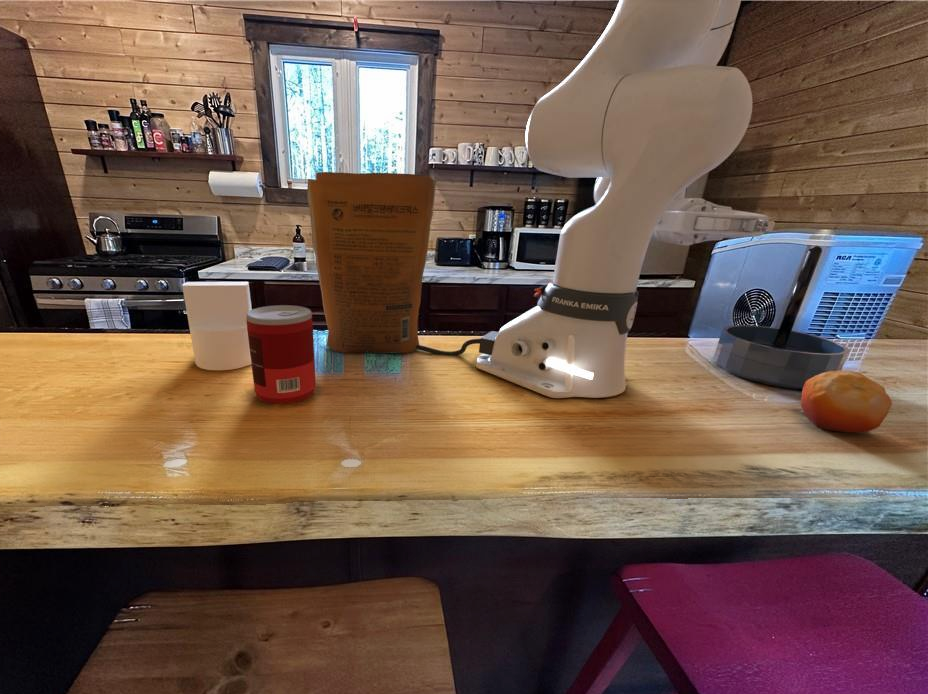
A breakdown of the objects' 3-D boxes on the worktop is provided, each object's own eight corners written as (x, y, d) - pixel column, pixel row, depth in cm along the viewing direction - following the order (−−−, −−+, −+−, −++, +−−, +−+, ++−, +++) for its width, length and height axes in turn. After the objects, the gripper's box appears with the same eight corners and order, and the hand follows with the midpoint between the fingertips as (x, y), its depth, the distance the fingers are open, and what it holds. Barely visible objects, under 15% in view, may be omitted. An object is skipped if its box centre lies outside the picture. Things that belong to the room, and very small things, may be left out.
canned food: (327, 387, 60) (324, 309, 56) (289, 410, 53) (281, 323, 49) (283, 377, 63) (277, 302, 59) (242, 397, 56) (231, 314, 52)
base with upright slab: (189, 371, 64) (174, 289, 59) (202, 352, 72) (190, 278, 67) (254, 368, 66) (245, 289, 61) (259, 349, 74) (251, 278, 69)
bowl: (705, 372, 72) (716, 337, 69) (718, 350, 83) (728, 320, 81) (836, 402, 62) (853, 362, 60) (830, 372, 74) (844, 338, 72)
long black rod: (750, 368, 72) (794, 245, 65) (752, 360, 76) (795, 243, 68) (790, 376, 69) (841, 248, 62) (790, 368, 73) (838, 246, 65)
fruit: (848, 402, 59) (891, 364, 52) (864, 453, 54) (913, 418, 48) (778, 392, 61) (810, 355, 55) (787, 440, 57) (824, 406, 50)
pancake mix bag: (429, 357, 73) (439, 174, 62) (315, 355, 72) (304, 168, 61) (426, 345, 80) (434, 176, 69) (321, 343, 78) (312, 171, 67)
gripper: (646, 202, 84) (704, 203, 71) (732, 207, 88) (801, 208, 76) (638, 236, 86) (693, 243, 74) (722, 239, 91) (788, 246, 78)
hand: (748, 225), depth 75 cm, fingers open, 8 cm apart
